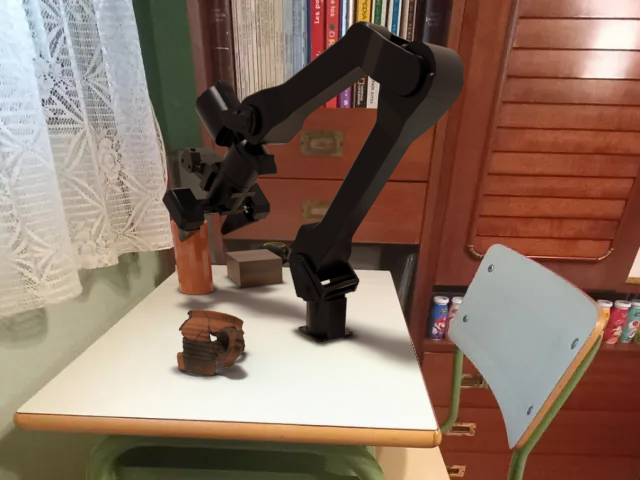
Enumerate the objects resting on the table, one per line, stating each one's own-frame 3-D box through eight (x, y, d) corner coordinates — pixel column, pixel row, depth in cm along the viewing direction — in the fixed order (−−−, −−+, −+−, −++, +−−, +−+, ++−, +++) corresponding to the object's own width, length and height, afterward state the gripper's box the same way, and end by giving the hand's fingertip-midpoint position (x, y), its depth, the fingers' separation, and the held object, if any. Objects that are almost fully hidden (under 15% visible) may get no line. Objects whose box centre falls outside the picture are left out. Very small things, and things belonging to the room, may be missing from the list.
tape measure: (254, 262, 113) (253, 246, 111) (266, 256, 119) (265, 240, 117) (281, 265, 111) (281, 248, 109) (292, 259, 117) (292, 243, 115)
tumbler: (218, 291, 93) (212, 222, 87) (186, 296, 90) (177, 225, 84) (206, 283, 98) (199, 217, 91) (175, 287, 95) (166, 219, 88)
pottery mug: (159, 367, 65) (168, 306, 64) (218, 378, 72) (226, 323, 71) (209, 373, 57) (220, 303, 56) (270, 385, 64) (279, 323, 63)
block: (282, 283, 99) (282, 258, 96) (240, 287, 96) (239, 262, 93) (267, 272, 106) (266, 249, 103) (227, 276, 102) (225, 252, 100)
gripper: (256, 128, 81) (220, 194, 93) (159, 127, 69) (132, 202, 81) (290, 185, 81) (249, 243, 93) (199, 193, 69) (165, 259, 81)
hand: (202, 236), depth 87 cm, fingers open, 9 cm apart
